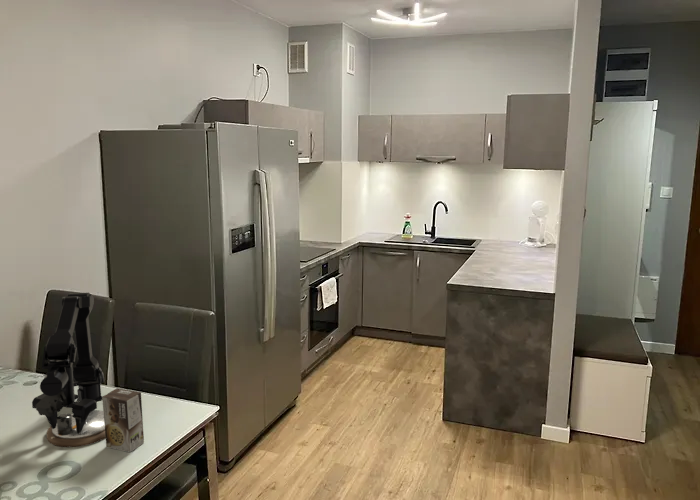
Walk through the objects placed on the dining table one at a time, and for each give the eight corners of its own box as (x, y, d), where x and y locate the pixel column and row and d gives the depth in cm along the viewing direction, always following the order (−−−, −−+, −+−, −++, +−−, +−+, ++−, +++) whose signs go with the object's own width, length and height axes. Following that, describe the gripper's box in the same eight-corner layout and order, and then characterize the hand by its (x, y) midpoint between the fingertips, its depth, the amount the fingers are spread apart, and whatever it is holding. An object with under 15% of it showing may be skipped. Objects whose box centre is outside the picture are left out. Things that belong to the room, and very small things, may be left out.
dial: (84, 409, 185) (82, 392, 184) (124, 418, 179) (123, 401, 178) (39, 433, 170) (37, 414, 169) (81, 444, 164) (80, 425, 163)
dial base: (96, 409, 189) (96, 405, 188) (130, 427, 177) (130, 422, 177) (34, 433, 173) (34, 428, 172) (68, 454, 161) (67, 449, 161)
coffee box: (145, 442, 168) (142, 391, 165) (130, 453, 162) (127, 400, 159) (120, 437, 171) (117, 387, 168) (104, 447, 165) (101, 395, 162)
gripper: (14, 388, 160) (19, 438, 163) (68, 396, 155) (72, 448, 158) (45, 373, 171) (49, 421, 174) (96, 381, 166) (99, 430, 168)
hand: (66, 430), depth 168 cm, fingers open, 9 cm apart
